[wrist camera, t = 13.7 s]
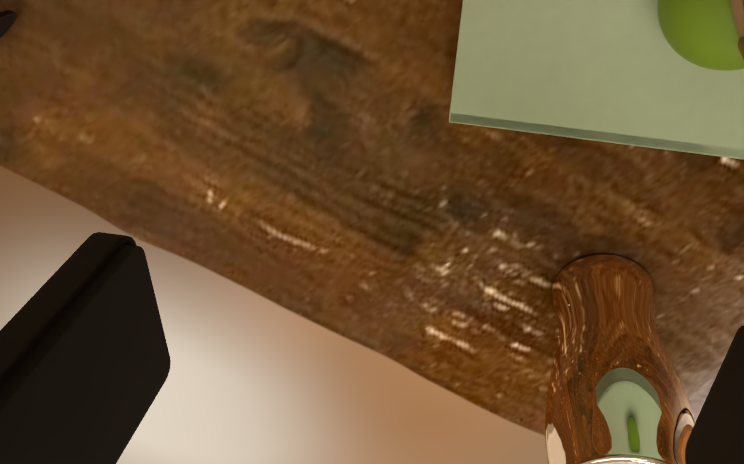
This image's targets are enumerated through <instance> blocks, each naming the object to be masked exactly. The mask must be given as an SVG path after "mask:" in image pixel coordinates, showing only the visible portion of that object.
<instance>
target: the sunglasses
mask: <svg viewBox="0 0 744 464" xmlns="http://www.w3.org/2000/svg"><path fill="white" fill-rule="evenodd" d="M15 18H16V13H15V12H13V11H10V10H7V11H4V12H0V38H1V37H2V36H3V35H4V34H5V33H6V32H7V31H8V30H9V28H10V27H11V26H12V24H13V23H14V21H15Z"/></svg>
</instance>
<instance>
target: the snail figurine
mask: <svg viewBox="0 0 744 464" xmlns="http://www.w3.org/2000/svg"><path fill="white" fill-rule="evenodd" d="M658 19H659V24H660V27H661V30H662V32H663V35H664V37H665V38H666V40H667V42H668V43H669V45H670V46H671V47H672V48H673V49H674V50H675V51H676V52H677V53H678V54H679V55H680V56H681V57H683V58H684V59H686V60H687V61H689V62H691V63H693V64H695V65H697V66H700V67H703V68H707V69H712V70H721V71H730V70H739V69H744V0H658Z"/></svg>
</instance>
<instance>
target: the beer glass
mask: <svg viewBox="0 0 744 464" xmlns="http://www.w3.org/2000/svg"><path fill="white" fill-rule="evenodd" d="M551 300H552V305H553V308H554V311H555V314H556V317H557V320H558V325H559V336H558V337H559V339H558V344H557V349H556V353H555V358H554V362H553V366H552V371H551V375H550V380H549V385H548V392H547V398H546V409H545V438H546V454H547V463H548V464H686V462H685V449H686V443H687V440H688V438H689V436H690V433H691V431H692V429H693V427H694V425H695V423H696V422H695V418H694V415H693V412H692V408H691V405H690V401H689V398H688V396H687V394H686V391H685V389H684V387H683V384H682V382H681V379H680V377H679V375H678V373H677V371H676V369H675V367H674V365H673V363H672V361H671V359H670V357H669V355H668V353H667V351H666V349H665V347H664V346H663V344H662V342H661V339H660V337H659V335H658V333H657V330H656V327H655V323H654V302H655V290H654V285H653V282H652V280H651V278H650V276H649V275H648V273H647V272H646V271H645V270H644V269H643V268H642V267H641V266H640V265H638V264H637V263H635V262H633V261H632V260H629V259H627V258H624V257H621V256H617V255H610V254H597V255H590V256H586V257H583V258H580V259H577V260H575V261H573V262H571V263H570V264H568V265H567V266H566V267H564V268H563V269H562V270H561V271H560V272H559V274H558V275H557V276H556V278H555V280H554V282H553V285H552V289H551Z"/></svg>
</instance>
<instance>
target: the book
mask: <svg viewBox="0 0 744 464" xmlns="http://www.w3.org/2000/svg"><path fill="white" fill-rule="evenodd" d="M449 122H452V123H460V124H468V125H476V126H484V127H492V128H500V129H508V130H516V131H524V132H531V133H539V134H547V135H555V136H563V137H571V138H579V139H587V140H595V141H603V142H611V143H618V144H626V145H634V146H642V147H650V148H658V149H666V150H674V151H682V152H690V153H698V154H705V155H713V156H721V157H729V158H737V159H744V69H739V70H730V71H721V70H712V69H707V68H703V67H700V66H697V65H695V64H693V63H691V62H689V61H687V60H686V59H684V58H683V57H681V56H680V55H679V54H678V53H677V52H676V51H675V50H674V49H673V48H672V47H671V46H670V45H669V43H668V42H667V40H666V38H665V37H664V35H663V32H662V30H661V27H660V24H659V19H658V0H463V3H462V11H461V20H460V28H459V37H458V45H457V54H456V62H455V71H454V79H453V88H452V96H451V105H450V113H449Z"/></svg>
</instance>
